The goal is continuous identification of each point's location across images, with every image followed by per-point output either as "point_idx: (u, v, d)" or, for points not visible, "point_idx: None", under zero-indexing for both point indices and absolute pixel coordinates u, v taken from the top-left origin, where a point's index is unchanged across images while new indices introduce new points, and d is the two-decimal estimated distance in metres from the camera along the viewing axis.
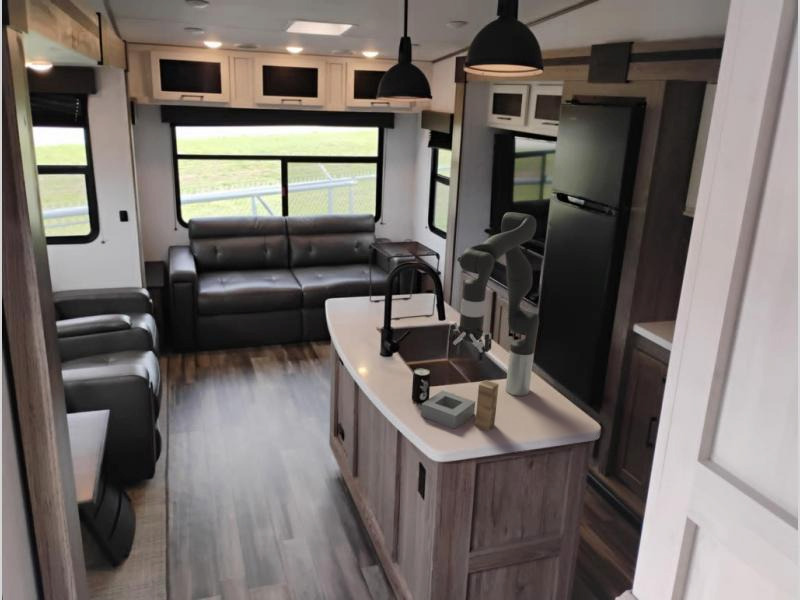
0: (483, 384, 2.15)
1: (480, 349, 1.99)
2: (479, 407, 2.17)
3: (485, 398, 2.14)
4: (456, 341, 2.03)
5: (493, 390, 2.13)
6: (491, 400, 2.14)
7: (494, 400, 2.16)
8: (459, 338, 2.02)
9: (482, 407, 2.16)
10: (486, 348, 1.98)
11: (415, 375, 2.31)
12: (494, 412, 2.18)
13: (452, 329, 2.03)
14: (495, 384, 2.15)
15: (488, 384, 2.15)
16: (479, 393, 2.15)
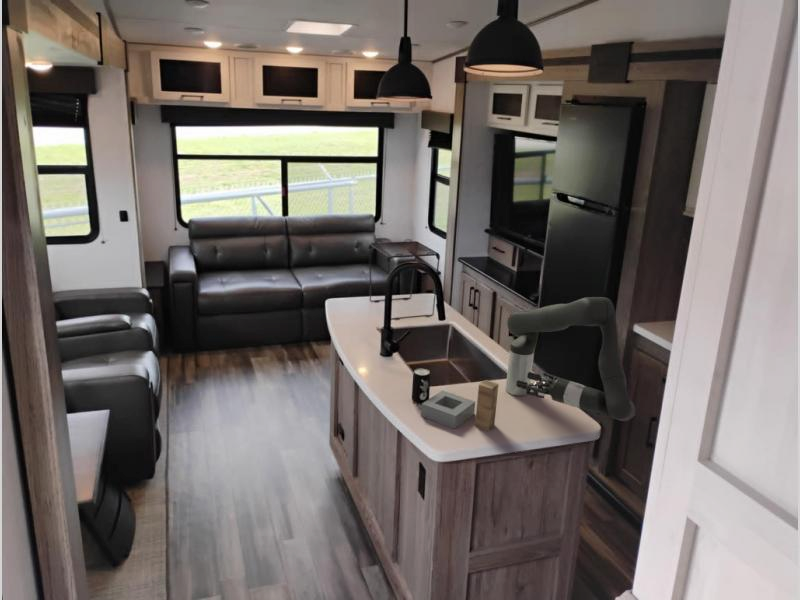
0: (483, 384, 2.15)
1: None
2: (479, 407, 2.17)
3: (485, 398, 2.14)
4: None
5: (493, 390, 2.13)
6: (491, 400, 2.14)
7: (494, 400, 2.16)
8: None
9: (482, 407, 2.16)
10: None
11: (415, 375, 2.31)
12: (494, 412, 2.18)
13: None
14: (495, 384, 2.15)
15: (488, 384, 2.15)
16: (479, 393, 2.15)
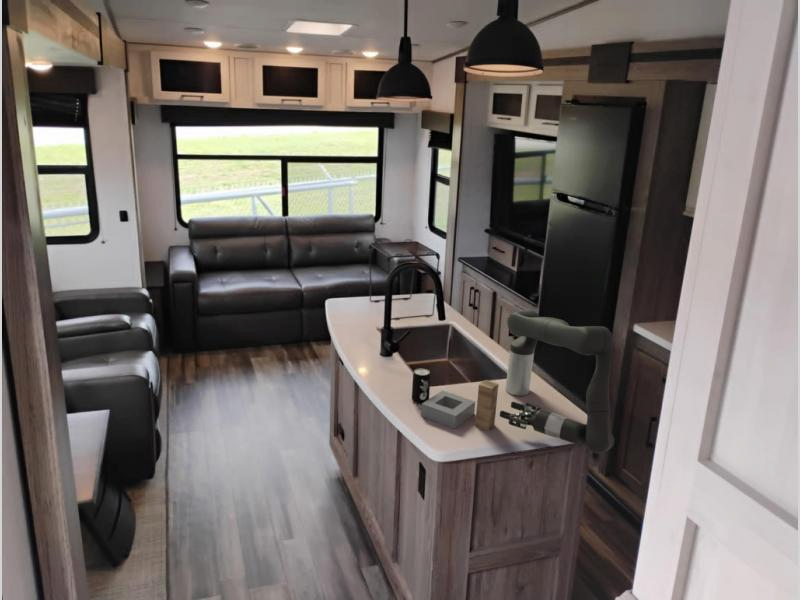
0: (483, 384, 2.15)
1: None
2: (479, 407, 2.17)
3: (485, 398, 2.14)
4: None
5: (493, 390, 2.13)
6: (491, 400, 2.14)
7: (494, 400, 2.16)
8: None
9: (482, 407, 2.16)
10: None
11: (415, 375, 2.31)
12: (494, 412, 2.18)
13: None
14: (495, 384, 2.15)
15: (488, 384, 2.15)
16: (479, 393, 2.15)
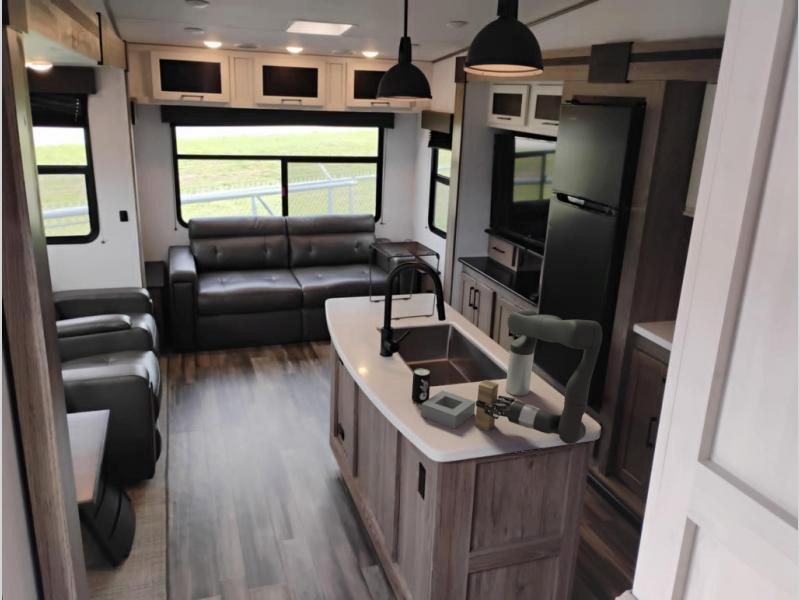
0: (483, 384, 2.15)
1: None
2: (479, 407, 2.17)
3: (485, 398, 2.14)
4: None
5: (493, 390, 2.13)
6: (491, 400, 2.14)
7: (494, 400, 2.16)
8: None
9: None
10: None
11: (415, 375, 2.31)
12: None
13: None
14: (495, 384, 2.15)
15: (488, 384, 2.15)
16: (479, 393, 2.15)
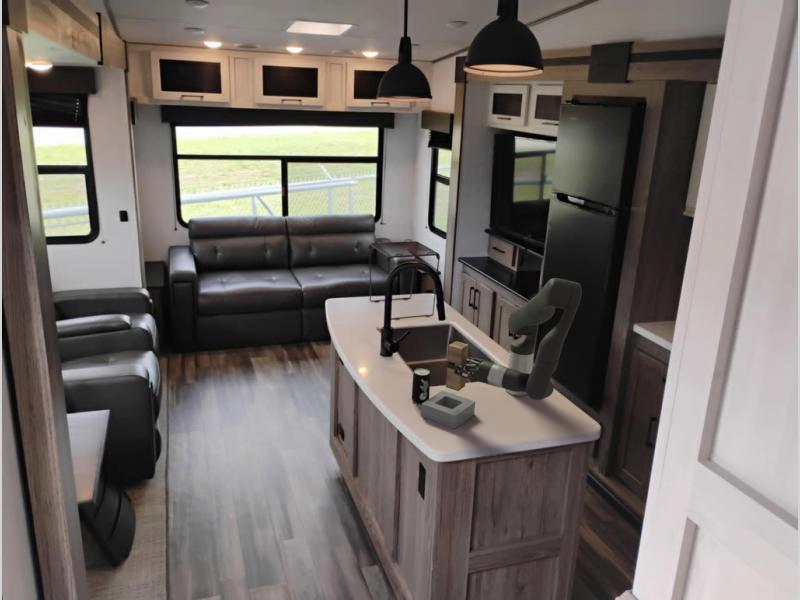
0: (453, 345, 2.16)
1: None
2: None
3: (455, 359, 2.16)
4: None
5: (462, 351, 2.15)
6: (461, 360, 2.15)
7: (464, 361, 2.18)
8: None
9: None
10: None
11: (415, 375, 2.31)
12: None
13: None
14: (465, 345, 2.17)
15: (458, 345, 2.16)
16: (449, 354, 2.17)
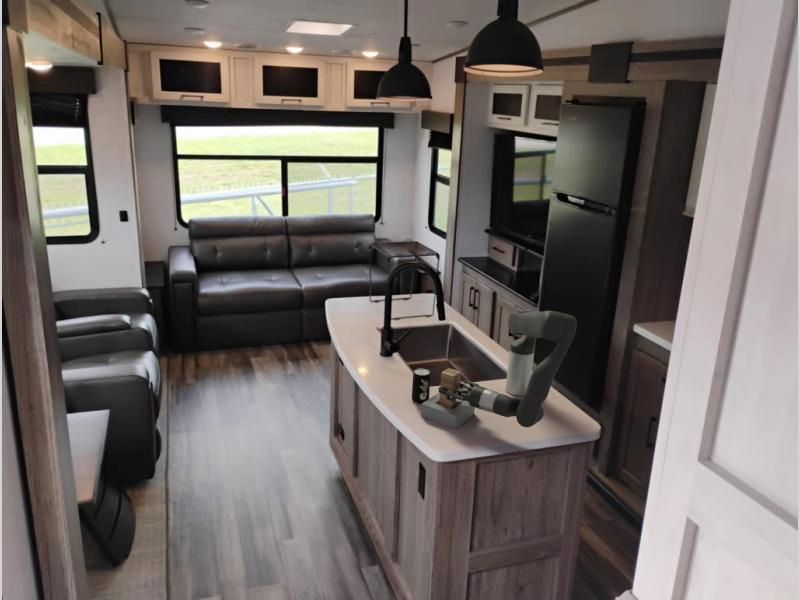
0: (445, 372, 2.21)
1: None
2: (442, 395, 2.22)
3: (448, 386, 2.20)
4: None
5: (455, 378, 2.19)
6: (453, 387, 2.20)
7: (456, 388, 2.22)
8: None
9: None
10: None
11: (415, 375, 2.31)
12: None
13: None
14: (457, 372, 2.21)
15: (450, 372, 2.21)
16: (442, 381, 2.21)
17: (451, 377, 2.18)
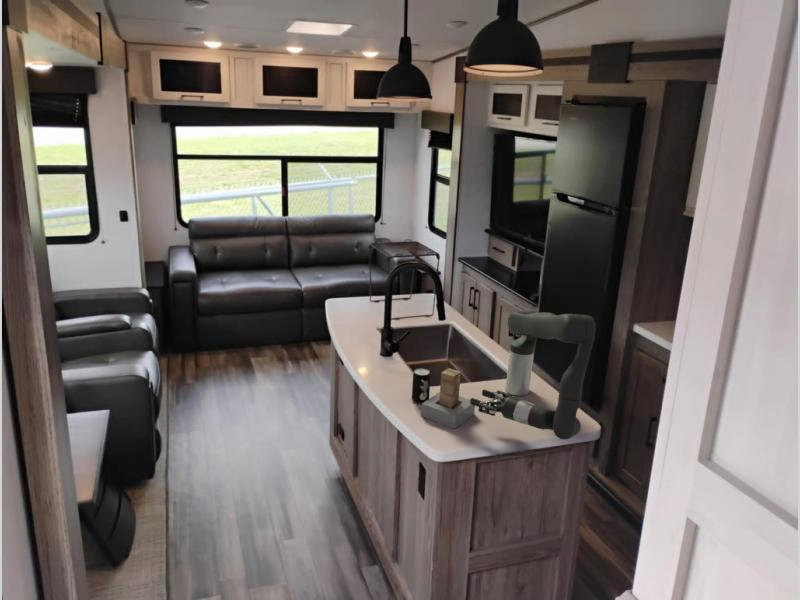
0: (445, 372, 2.21)
1: None
2: (442, 395, 2.22)
3: (448, 386, 2.20)
4: None
5: (455, 378, 2.19)
6: (453, 387, 2.20)
7: (456, 388, 2.22)
8: None
9: (445, 394, 2.22)
10: None
11: (415, 375, 2.31)
12: (457, 400, 2.24)
13: None
14: (457, 372, 2.21)
15: (450, 372, 2.21)
16: (442, 381, 2.21)
17: (451, 377, 2.18)
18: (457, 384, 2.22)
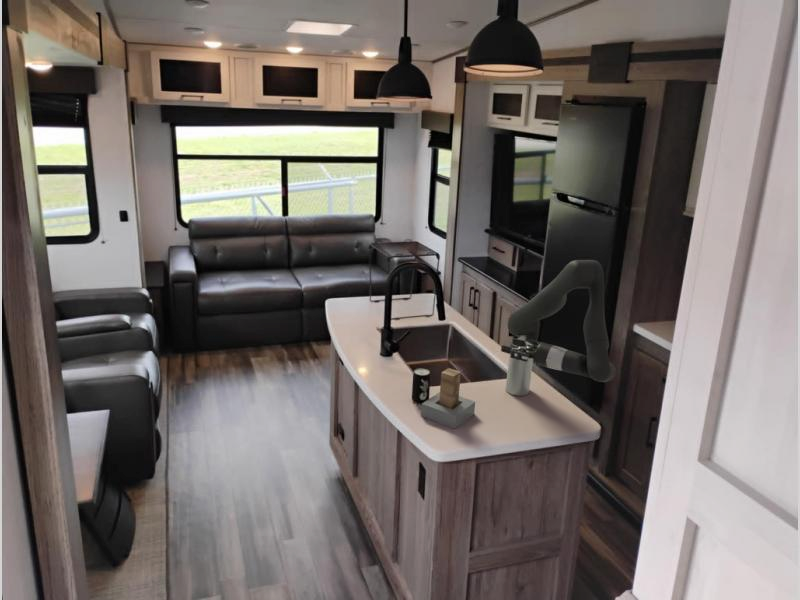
0: (445, 372, 2.21)
1: None
2: (442, 395, 2.22)
3: (448, 386, 2.20)
4: None
5: (455, 378, 2.19)
6: (453, 387, 2.20)
7: (456, 388, 2.22)
8: None
9: (445, 394, 2.22)
10: None
11: (415, 375, 2.31)
12: (457, 400, 2.24)
13: None
14: (457, 372, 2.21)
15: (450, 372, 2.21)
16: (442, 381, 2.21)
17: (451, 377, 2.18)
18: (457, 384, 2.22)
